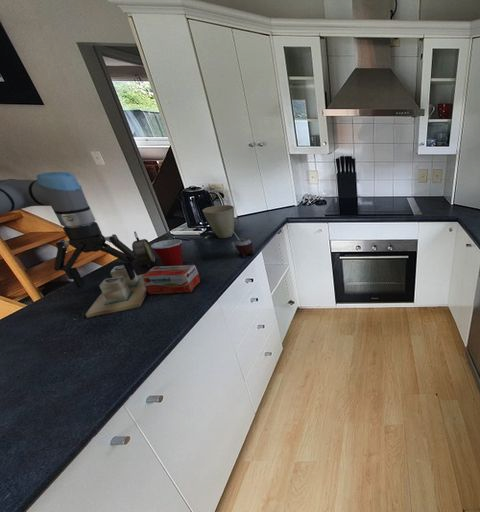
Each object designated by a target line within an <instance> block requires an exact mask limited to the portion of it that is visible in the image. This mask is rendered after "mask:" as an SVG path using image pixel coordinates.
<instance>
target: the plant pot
mask: <svg viewBox="0 0 480 512" xmlns="http://www.w3.org/2000/svg"><path fill="white" fill-rule="evenodd" d="M201 211H202V213H203V215H204V217H205V219H206V221H207V223H208V225H209V226H210V228H211V230H212V231H213V233H214V234H215V235H216V236H217V238H218V239H227V238H231V237H232V236H233V235H234V234H233V232H235V231H234V229H235V206H233V205H230V204H228V205H227V204H220V205H211V206H208V207H205V208H203V209H202V210H201ZM227 229H228V230H227ZM229 230H232V231H233V232H231V231H229Z"/></svg>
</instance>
